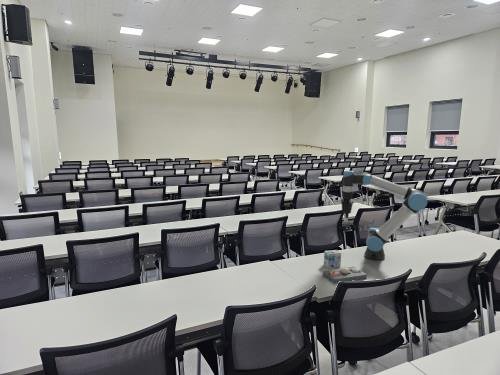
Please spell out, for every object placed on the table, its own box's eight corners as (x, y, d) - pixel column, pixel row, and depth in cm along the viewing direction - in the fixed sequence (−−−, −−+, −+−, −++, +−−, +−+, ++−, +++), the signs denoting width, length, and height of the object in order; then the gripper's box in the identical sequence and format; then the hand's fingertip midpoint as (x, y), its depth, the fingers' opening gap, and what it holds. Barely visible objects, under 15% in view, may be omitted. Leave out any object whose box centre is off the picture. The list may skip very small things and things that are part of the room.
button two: (345, 270, 223) (345, 266, 223) (350, 273, 219) (350, 269, 218) (339, 271, 222) (339, 267, 221) (343, 274, 217) (344, 270, 217)
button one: (355, 271, 226) (356, 267, 226) (360, 274, 222) (360, 270, 221) (349, 272, 225) (350, 268, 224) (354, 275, 220) (354, 271, 220)
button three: (334, 274, 221) (335, 270, 220) (339, 278, 216) (339, 273, 216) (328, 275, 219) (328, 271, 219) (332, 279, 215) (332, 274, 214)
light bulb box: (327, 268, 235) (328, 254, 233) (323, 264, 241) (323, 250, 239) (340, 266, 237) (341, 252, 236) (336, 263, 244) (336, 249, 242)
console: (353, 270, 231) (353, 266, 231) (366, 278, 218) (366, 274, 218) (322, 275, 223) (323, 270, 223) (334, 283, 210) (334, 279, 210)
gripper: (338, 190, 250) (336, 219, 254) (348, 193, 238) (346, 224, 242) (346, 189, 253) (344, 219, 256) (357, 192, 240) (355, 223, 244)
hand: (345, 221), depth 249 cm, fingers closed
